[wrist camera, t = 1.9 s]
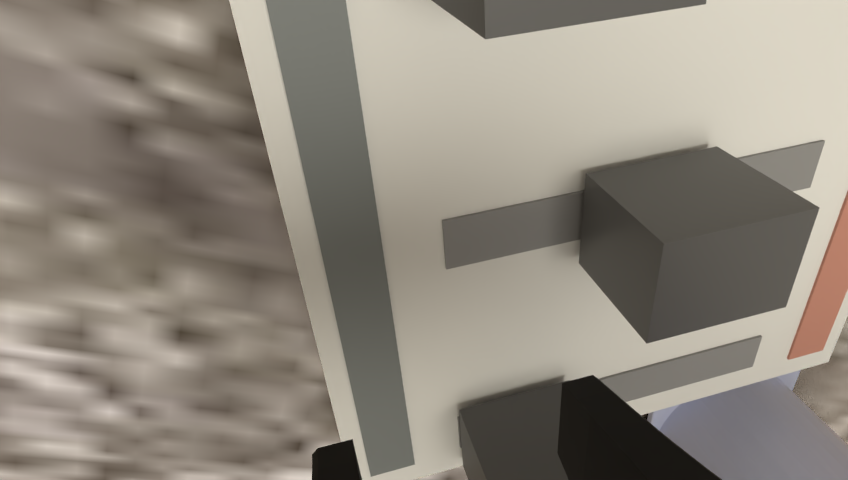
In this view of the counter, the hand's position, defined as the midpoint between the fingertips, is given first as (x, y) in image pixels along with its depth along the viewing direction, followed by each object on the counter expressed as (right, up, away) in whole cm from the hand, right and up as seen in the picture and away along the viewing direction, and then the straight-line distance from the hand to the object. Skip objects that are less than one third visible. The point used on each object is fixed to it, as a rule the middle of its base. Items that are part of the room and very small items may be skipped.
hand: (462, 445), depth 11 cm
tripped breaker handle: (+6, +5, +6) cm, 10 cm away
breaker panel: (+5, +6, +9) cm, 12 cm away
